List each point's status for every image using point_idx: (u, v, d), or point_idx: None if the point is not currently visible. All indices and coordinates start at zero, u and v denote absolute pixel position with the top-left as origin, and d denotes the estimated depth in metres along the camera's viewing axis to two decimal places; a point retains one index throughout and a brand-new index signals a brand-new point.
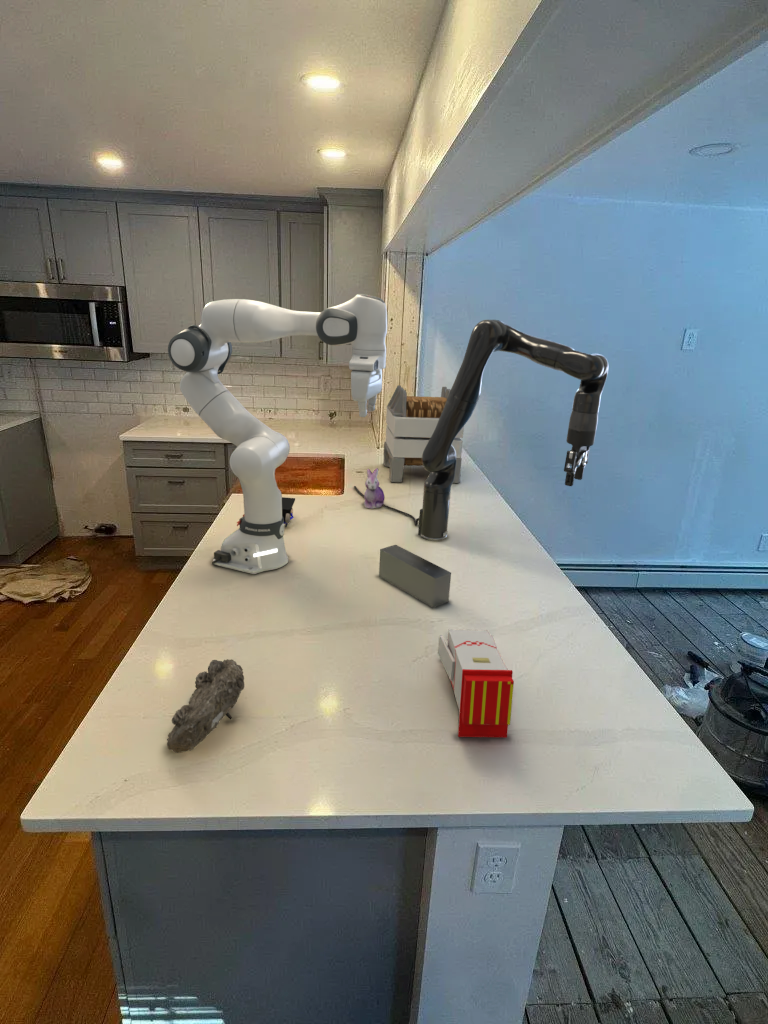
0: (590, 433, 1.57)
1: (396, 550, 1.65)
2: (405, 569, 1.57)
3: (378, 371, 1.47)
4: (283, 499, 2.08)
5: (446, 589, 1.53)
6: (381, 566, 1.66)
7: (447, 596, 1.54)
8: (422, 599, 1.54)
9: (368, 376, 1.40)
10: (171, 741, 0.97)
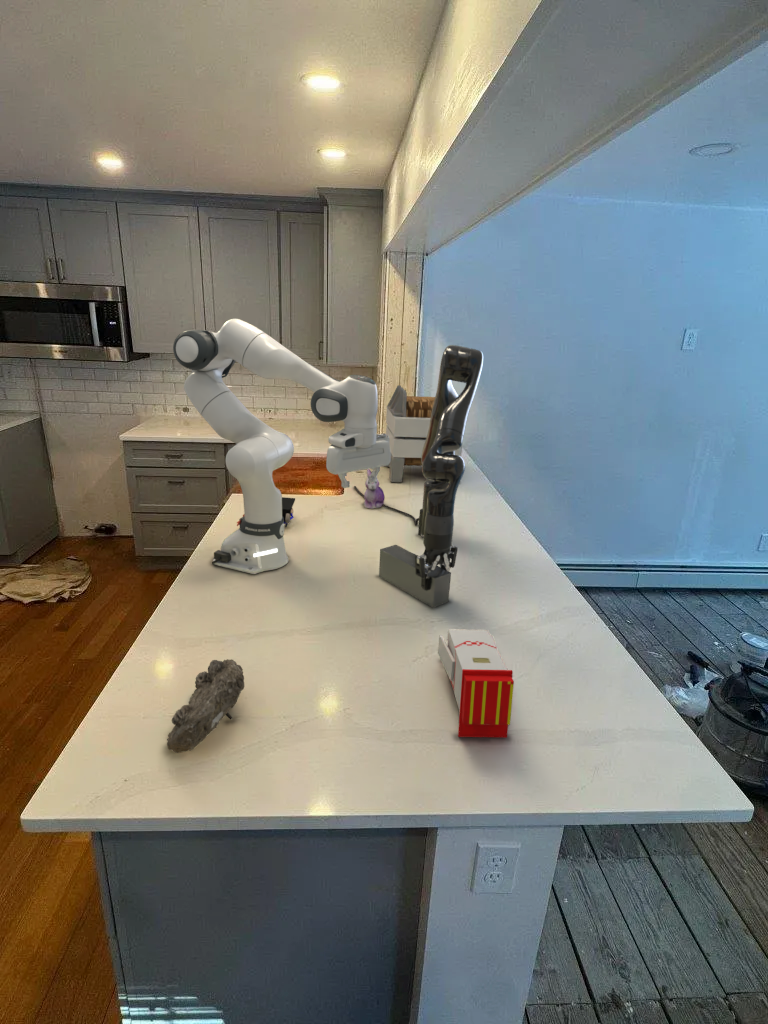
0: (440, 537, 1.45)
1: (396, 550, 1.65)
2: (405, 569, 1.57)
3: (363, 447, 1.53)
4: (283, 499, 2.08)
5: (446, 589, 1.53)
6: (381, 566, 1.66)
7: (447, 596, 1.54)
8: (422, 599, 1.54)
9: (337, 452, 1.49)
10: (171, 741, 0.97)
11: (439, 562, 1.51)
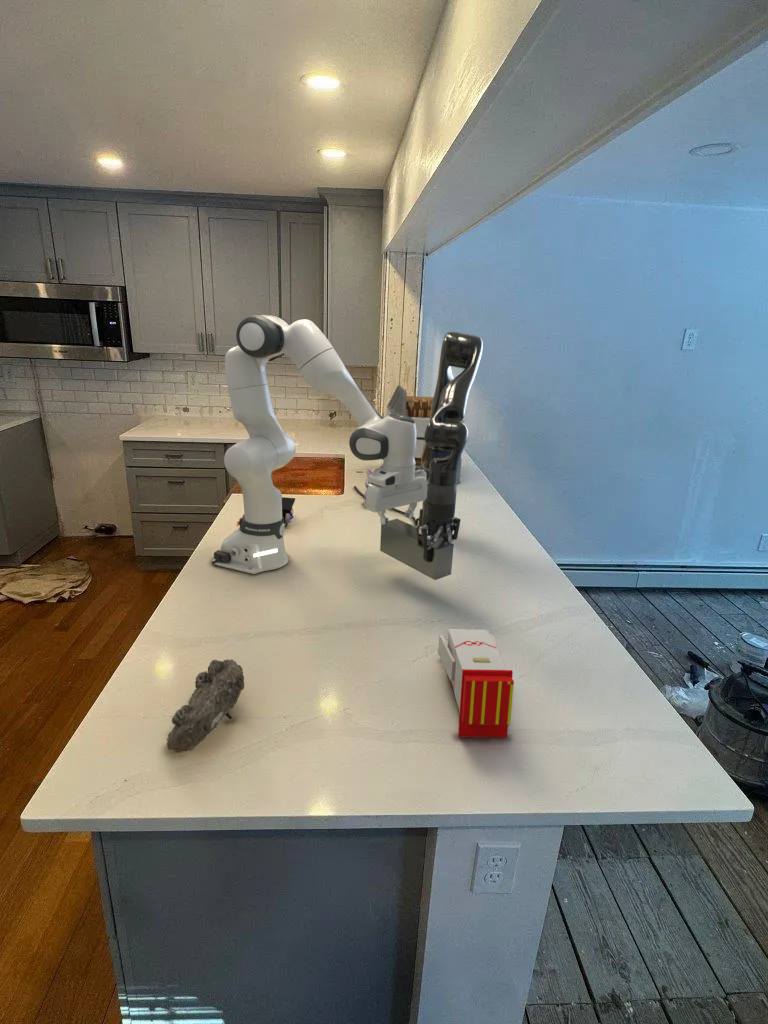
0: (443, 507, 1.42)
1: (398, 523, 1.62)
2: (406, 542, 1.55)
3: (402, 485, 1.55)
4: (283, 499, 2.08)
5: (449, 561, 1.50)
6: (382, 540, 1.63)
7: (450, 568, 1.51)
8: (424, 571, 1.51)
9: (377, 491, 1.50)
10: (171, 741, 0.97)
11: (441, 533, 1.48)
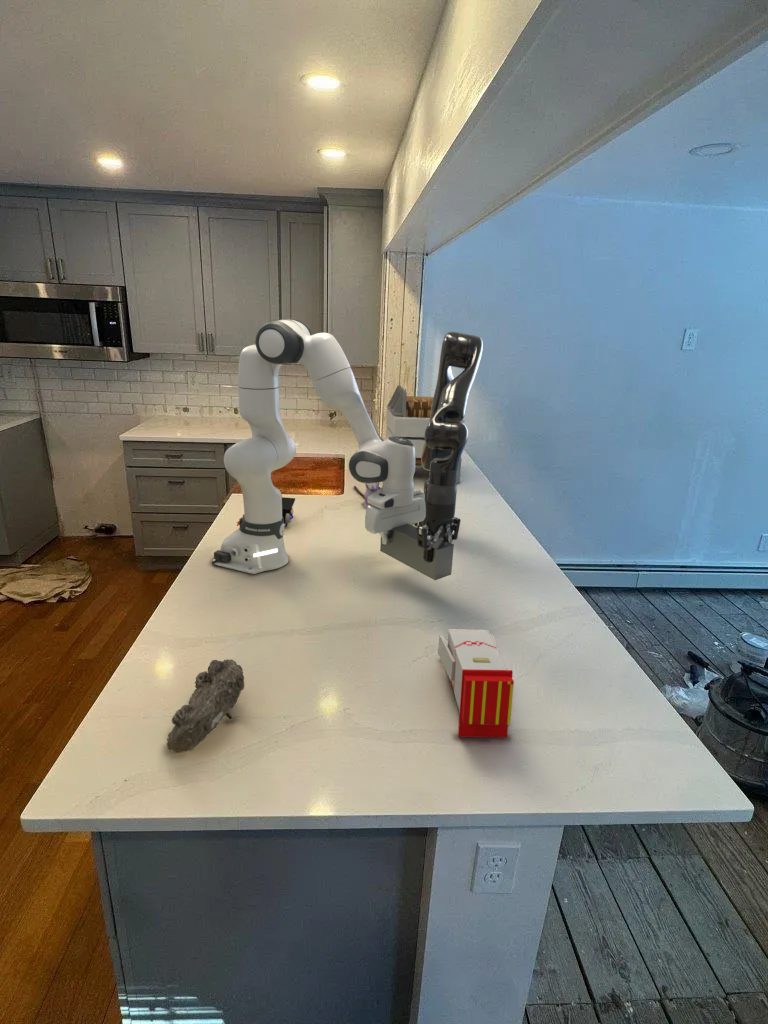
0: (443, 507, 1.42)
1: None
2: (407, 542, 1.55)
3: (401, 507, 1.57)
4: (283, 499, 2.08)
5: (449, 561, 1.50)
6: None
7: (450, 569, 1.51)
8: (425, 571, 1.51)
9: (376, 513, 1.52)
10: (171, 741, 0.97)
11: (442, 533, 1.48)
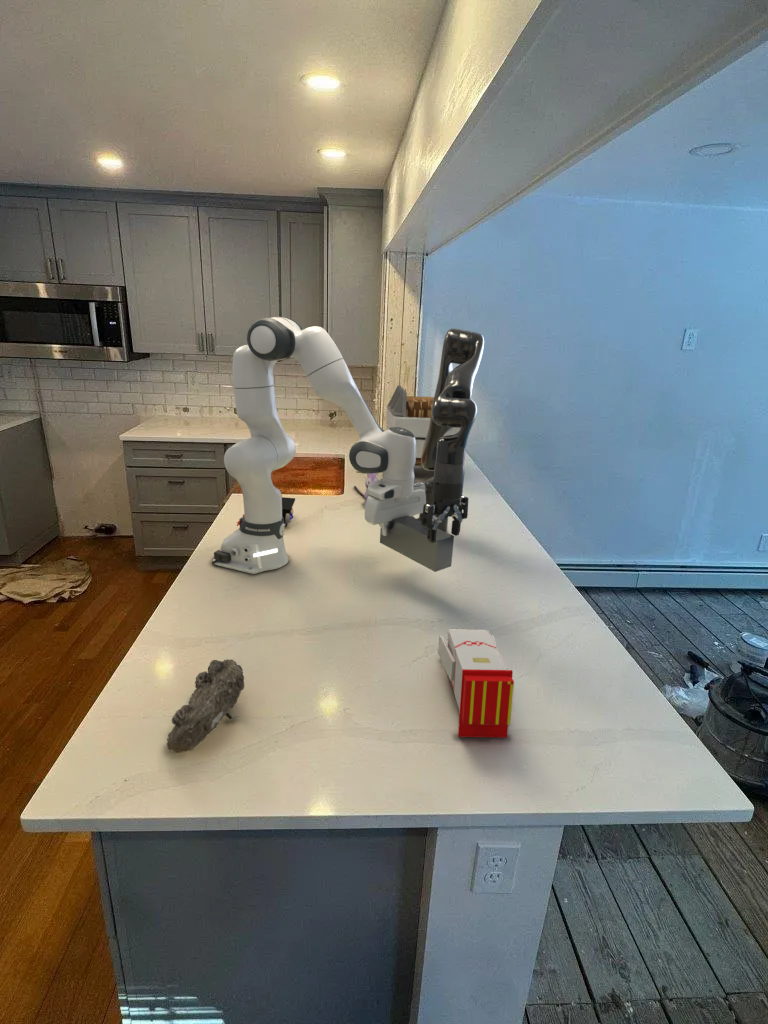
0: (450, 486, 1.38)
1: None
2: (407, 533, 1.54)
3: (401, 498, 1.56)
4: (283, 499, 2.08)
5: (449, 553, 1.49)
6: None
7: (450, 560, 1.50)
8: (424, 563, 1.50)
9: (376, 504, 1.52)
10: (171, 741, 0.97)
11: (449, 514, 1.44)
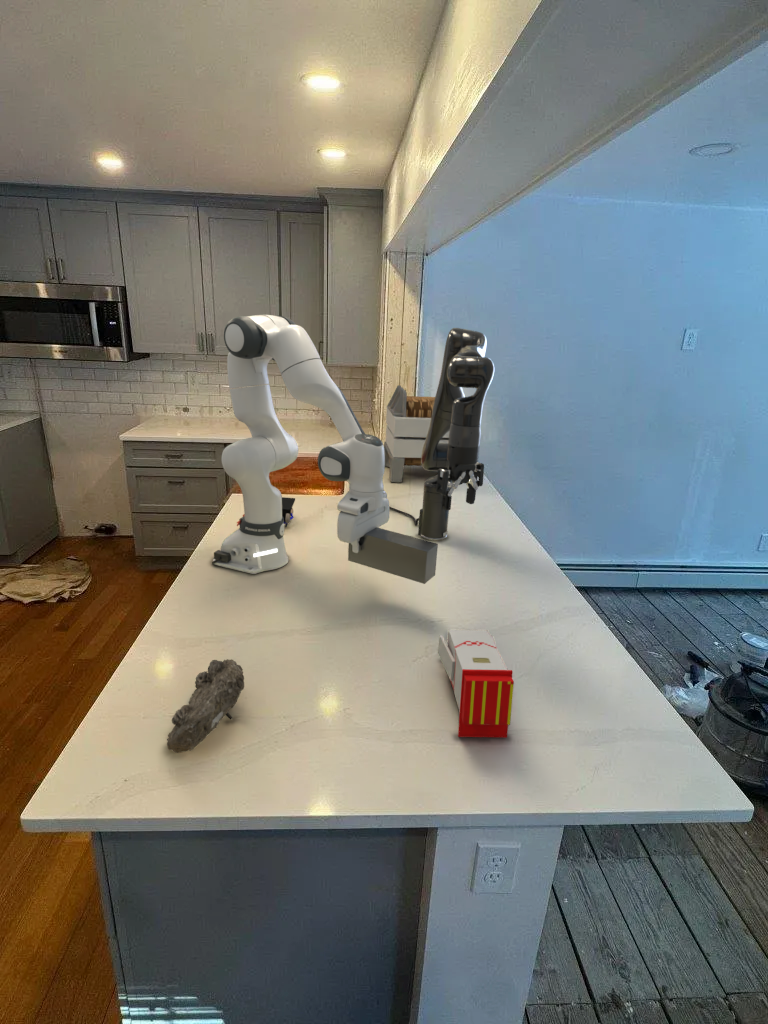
0: (467, 450, 1.32)
1: None
2: (385, 547, 1.44)
3: (372, 510, 1.45)
4: (283, 499, 2.08)
5: (434, 562, 1.43)
6: None
7: (434, 569, 1.44)
8: (410, 576, 1.42)
9: (352, 520, 1.39)
10: (171, 741, 0.97)
11: (464, 481, 1.38)
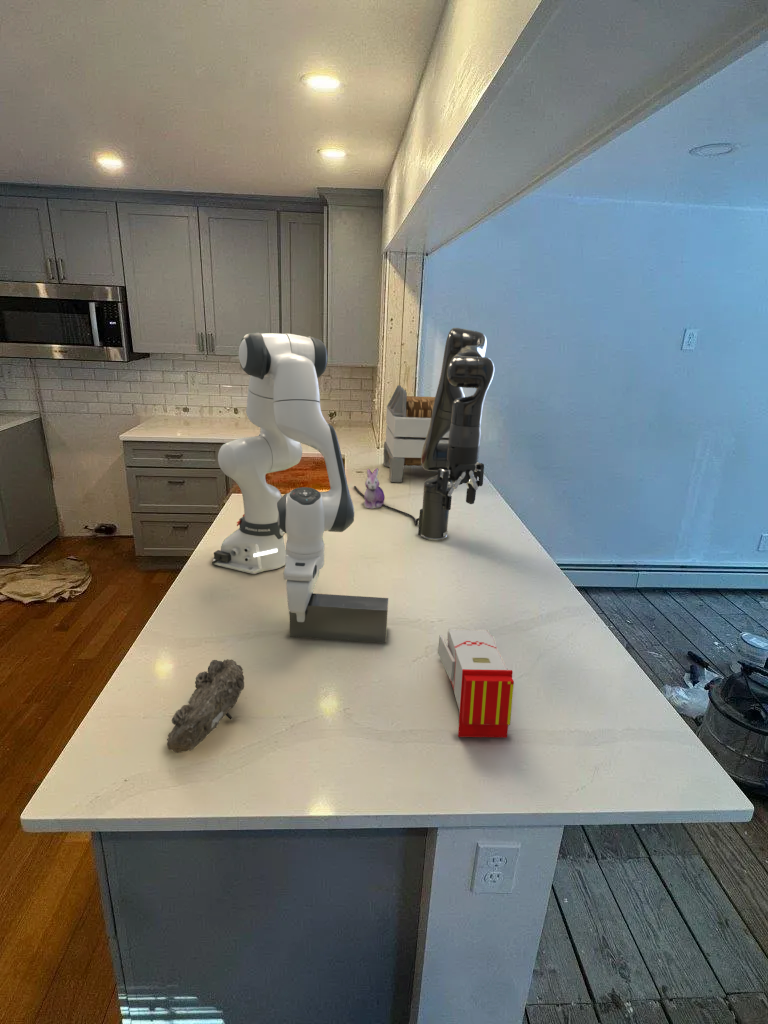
0: (467, 450, 1.32)
1: None
2: (336, 615, 1.33)
3: None
4: None
5: None
6: (294, 623, 1.34)
7: None
8: (368, 638, 1.34)
9: (306, 588, 1.24)
10: (171, 741, 0.97)
11: (464, 481, 1.38)
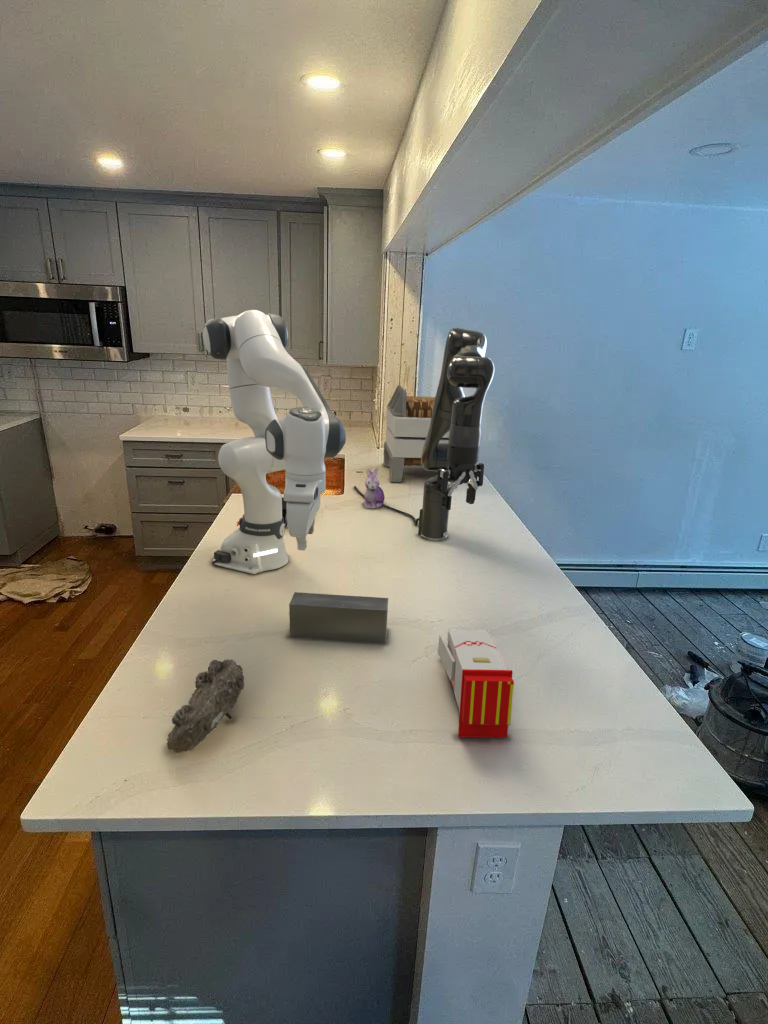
0: (467, 450, 1.32)
1: (305, 597, 1.35)
2: (336, 615, 1.33)
3: (317, 495, 1.25)
4: (283, 499, 2.08)
5: None
6: (294, 623, 1.34)
7: None
8: (368, 638, 1.34)
9: (308, 509, 1.17)
10: (171, 741, 0.97)
11: (464, 481, 1.38)
